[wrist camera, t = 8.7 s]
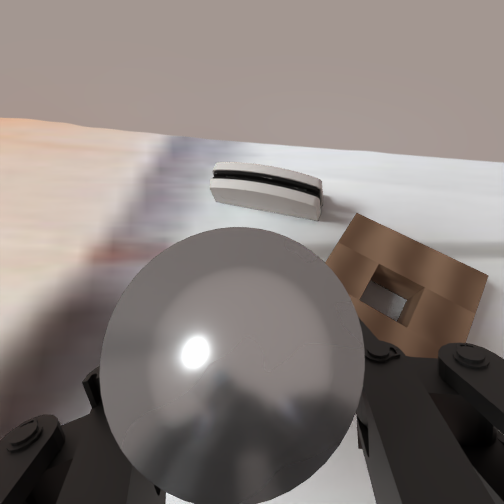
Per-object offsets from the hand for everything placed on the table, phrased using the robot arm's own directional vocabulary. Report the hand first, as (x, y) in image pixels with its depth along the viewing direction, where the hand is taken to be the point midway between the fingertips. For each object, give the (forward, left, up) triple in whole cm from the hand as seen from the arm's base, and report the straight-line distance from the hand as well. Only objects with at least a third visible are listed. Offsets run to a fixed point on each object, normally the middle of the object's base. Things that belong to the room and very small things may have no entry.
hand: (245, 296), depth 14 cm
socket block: (+9, +13, -21) cm, 27 cm away
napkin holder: (-11, +19, -22) cm, 31 cm away
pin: (+3, -3, -6) cm, 7 cm away
